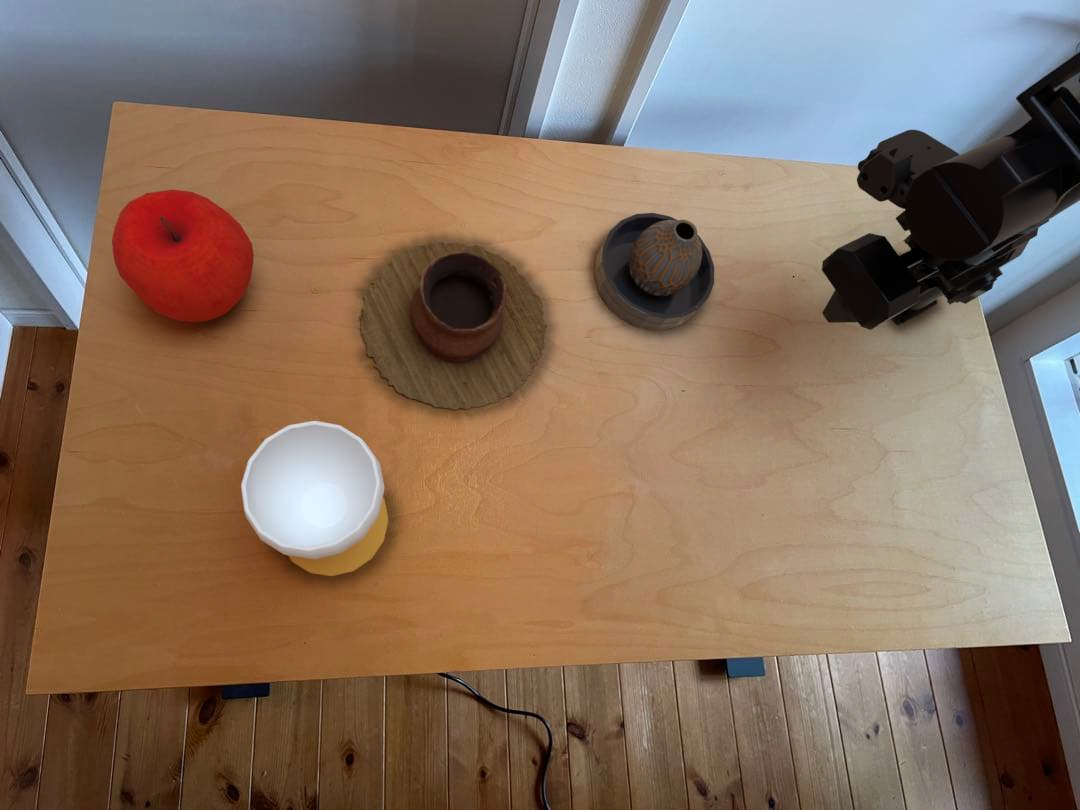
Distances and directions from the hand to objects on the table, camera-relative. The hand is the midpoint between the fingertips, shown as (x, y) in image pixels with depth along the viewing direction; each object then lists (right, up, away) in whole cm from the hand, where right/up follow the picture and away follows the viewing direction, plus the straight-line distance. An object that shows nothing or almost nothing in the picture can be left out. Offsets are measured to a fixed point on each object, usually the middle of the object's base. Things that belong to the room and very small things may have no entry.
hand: (863, 297), depth 59 cm
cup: (-46, -19, -2) cm, 50 cm away
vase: (-17, +4, +12) cm, 21 cm away
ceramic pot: (-37, -2, +6) cm, 37 cm away
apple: (-59, +1, +2) cm, 59 cm away
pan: (-17, +4, +12) cm, 21 cm away
